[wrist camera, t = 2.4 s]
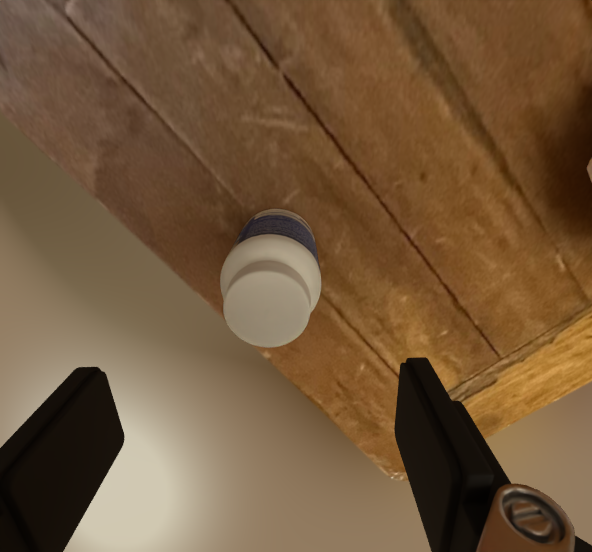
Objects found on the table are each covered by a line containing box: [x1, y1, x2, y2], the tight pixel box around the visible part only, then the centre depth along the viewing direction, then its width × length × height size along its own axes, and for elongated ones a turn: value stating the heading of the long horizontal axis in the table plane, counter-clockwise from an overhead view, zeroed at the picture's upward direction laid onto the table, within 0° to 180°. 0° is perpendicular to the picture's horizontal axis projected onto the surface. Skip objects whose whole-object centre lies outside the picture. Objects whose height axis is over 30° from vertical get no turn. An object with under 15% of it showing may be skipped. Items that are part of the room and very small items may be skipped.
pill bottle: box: [220, 209, 321, 347], centre depth 20 cm, size 5×5×10 cm
